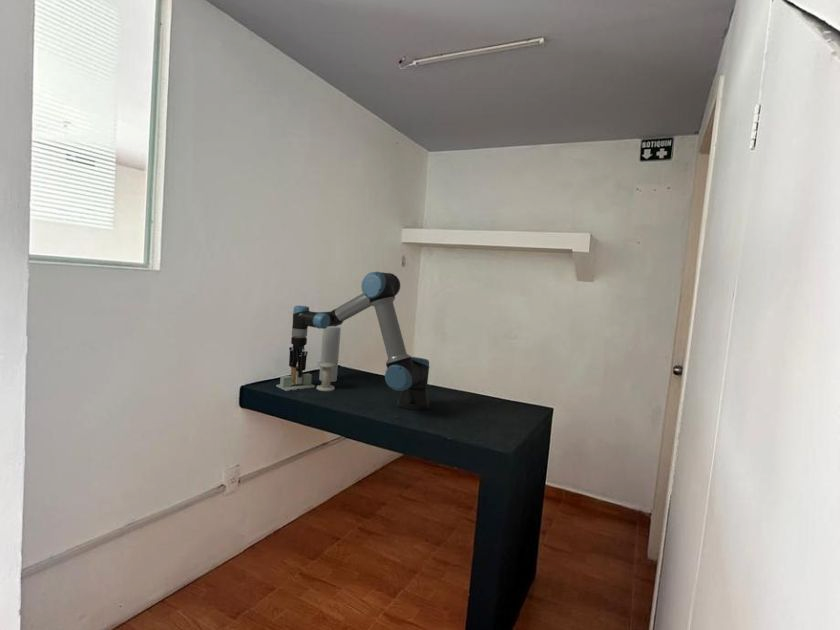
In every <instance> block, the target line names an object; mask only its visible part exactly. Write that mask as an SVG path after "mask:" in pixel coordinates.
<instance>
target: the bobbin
mask: <svg viewBox="0 0 840 630" xmlns="http://www.w3.org/2000/svg"><path fill="white" fill-rule="evenodd" d="M317 366H318V367H319V368H320V367H323V370H322V381H321V384H320V385H319V384H318V385H317V386H316V390H318V391H320V392H333V391H335V388H336V387H335V386H334V385H331V383H332V382H331V368H333V367H336V363H332V362H321V361H320V362H318V365H317Z"/></svg>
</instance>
